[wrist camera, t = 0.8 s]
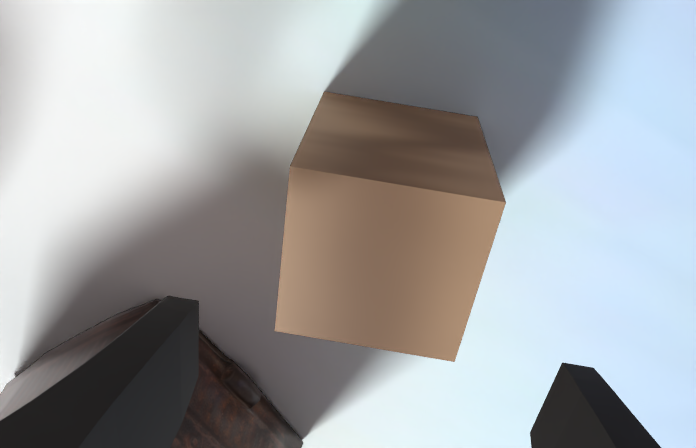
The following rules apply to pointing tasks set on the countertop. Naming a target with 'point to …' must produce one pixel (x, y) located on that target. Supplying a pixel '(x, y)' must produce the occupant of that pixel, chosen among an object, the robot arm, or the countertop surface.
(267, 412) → the coffee grinder
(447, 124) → the walnut block
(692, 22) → the countertop surface
